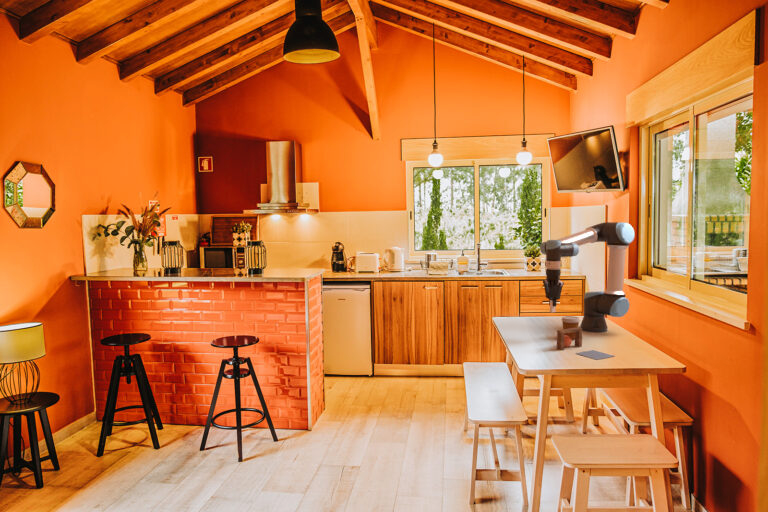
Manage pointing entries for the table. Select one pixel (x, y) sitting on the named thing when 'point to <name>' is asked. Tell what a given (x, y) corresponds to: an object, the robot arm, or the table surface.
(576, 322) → the disposable coffee cup
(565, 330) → the bridge
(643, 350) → the table surface
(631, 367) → the table surface
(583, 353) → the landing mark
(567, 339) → the ball
